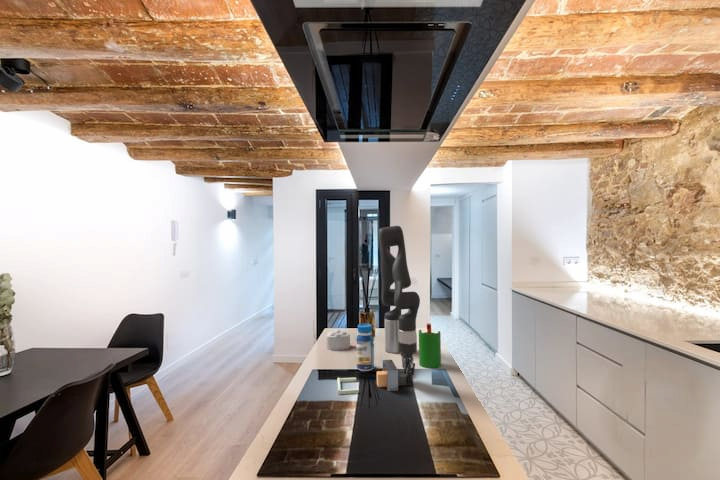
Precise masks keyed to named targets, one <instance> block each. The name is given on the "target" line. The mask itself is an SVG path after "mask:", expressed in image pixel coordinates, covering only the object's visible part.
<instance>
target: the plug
mask: <svg viewBox="0 0 720 480" xmlns="http://www.w3.org/2000/svg"><path fill="white" fill-rule="evenodd" d="M376 385H377V388H387V372H386V371H383V370H378V371H376ZM412 385H413V383H412V384H407V383H406V374H404V373H398V387H399V386H400V387H401V386H412Z"/></svg>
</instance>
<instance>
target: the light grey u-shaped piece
mask: <svg viewBox="0 0 720 480" xmlns="http://www.w3.org/2000/svg"><path fill="white" fill-rule="evenodd" d="M336 380H337V381H336V382H337V392H338V393H337V394H338V395H350V394H359V393H360V388H353V389H350V388H349V389H348V388H347V389H341V383H349V382H357V377H337V379H336Z"/></svg>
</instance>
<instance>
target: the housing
mask: <svg viewBox="0 0 720 480" xmlns="http://www.w3.org/2000/svg"><path fill="white" fill-rule="evenodd" d="M382 371H386V372H387V387H386V389H387V392H398V391H399V386H398V374H399V371H398V368H397V366H396V364H395V362H394V360H393V359H382Z"/></svg>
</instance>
